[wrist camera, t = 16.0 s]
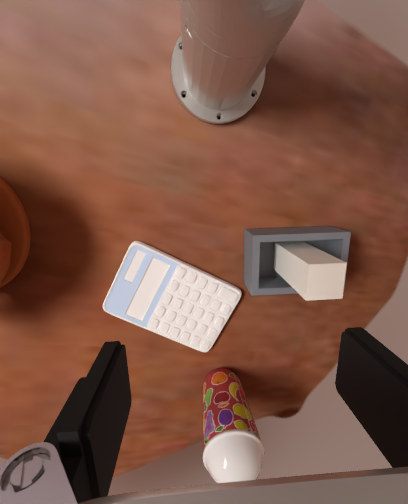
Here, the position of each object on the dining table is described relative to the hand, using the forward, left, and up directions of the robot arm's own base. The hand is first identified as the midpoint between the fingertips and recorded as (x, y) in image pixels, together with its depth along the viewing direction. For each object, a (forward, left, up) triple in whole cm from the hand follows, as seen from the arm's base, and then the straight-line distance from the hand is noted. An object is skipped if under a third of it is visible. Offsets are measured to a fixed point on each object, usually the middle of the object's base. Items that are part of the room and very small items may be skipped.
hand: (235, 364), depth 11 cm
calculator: (+11, -5, -31) cm, 33 cm away
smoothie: (+28, +3, -31) cm, 42 cm away
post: (+4, +14, -30) cm, 33 cm away
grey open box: (+4, +14, -30) cm, 34 cm away
